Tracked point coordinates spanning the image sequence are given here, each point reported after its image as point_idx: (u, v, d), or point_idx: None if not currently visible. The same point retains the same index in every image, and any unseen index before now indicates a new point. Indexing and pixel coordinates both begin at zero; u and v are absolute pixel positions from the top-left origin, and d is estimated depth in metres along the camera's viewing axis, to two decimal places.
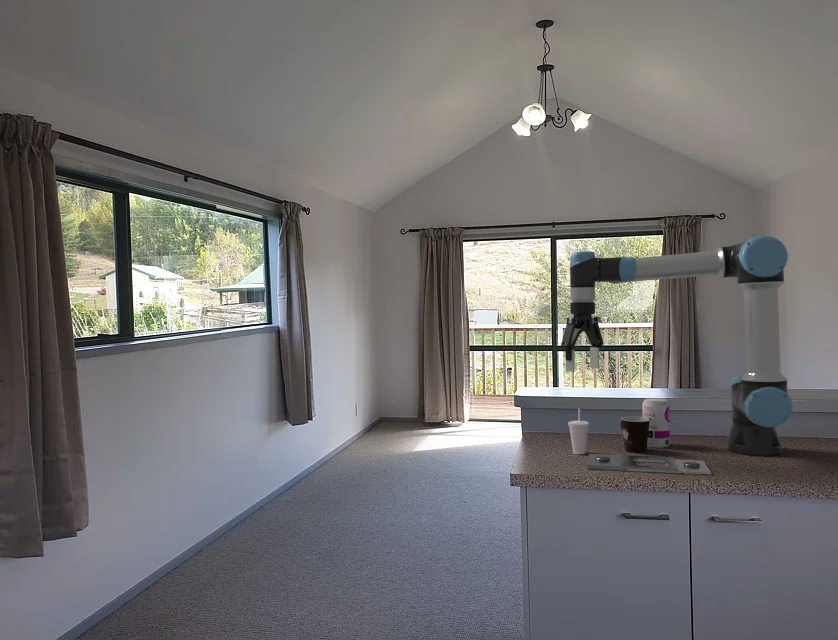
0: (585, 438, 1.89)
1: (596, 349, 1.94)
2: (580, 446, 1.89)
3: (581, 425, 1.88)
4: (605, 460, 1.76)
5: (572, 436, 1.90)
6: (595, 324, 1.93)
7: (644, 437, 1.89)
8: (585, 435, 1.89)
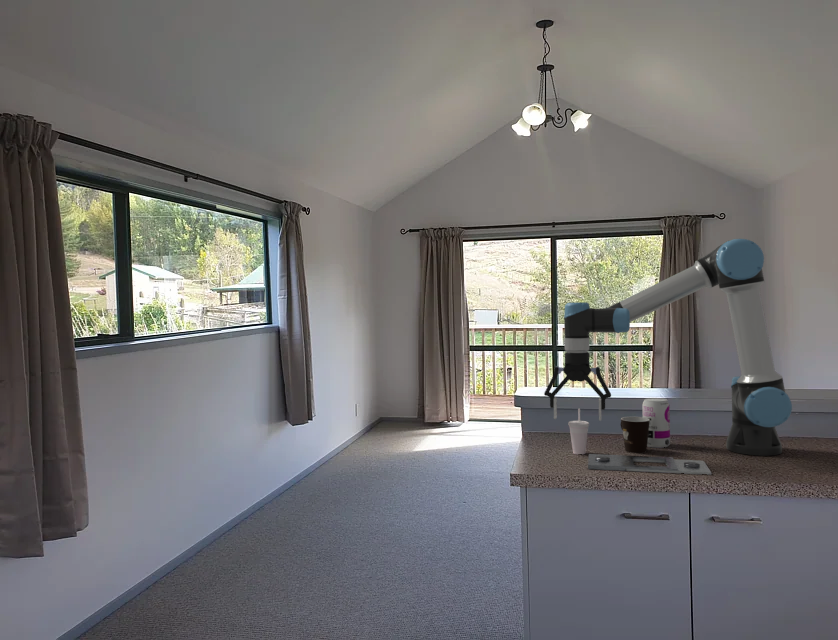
0: (585, 438, 1.89)
1: None
2: (580, 446, 1.89)
3: (581, 425, 1.88)
4: (605, 460, 1.76)
5: (572, 436, 1.90)
6: None
7: (644, 437, 1.89)
8: (585, 435, 1.89)
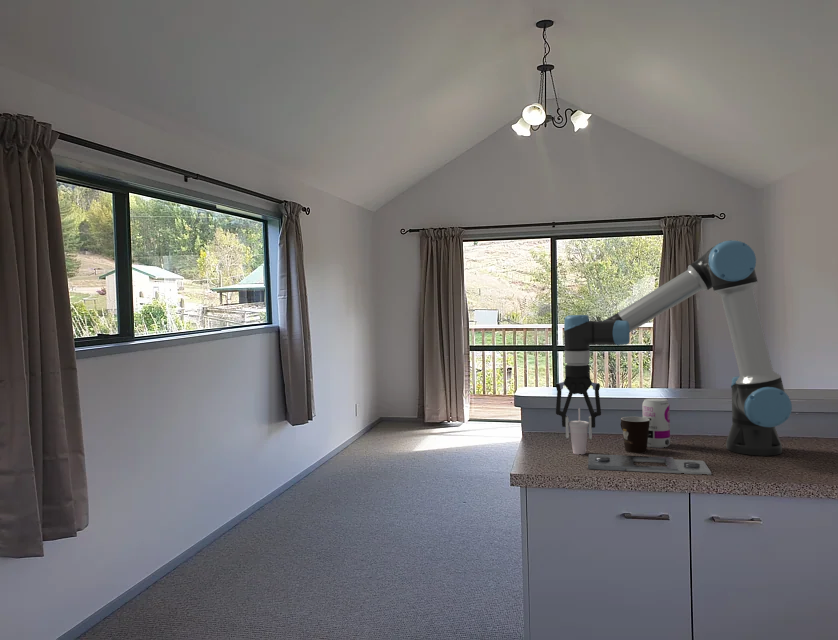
0: (585, 438, 1.89)
1: None
2: (580, 446, 1.89)
3: (581, 425, 1.88)
4: (605, 460, 1.76)
5: (572, 436, 1.90)
6: (595, 391, 1.89)
7: (644, 437, 1.89)
8: (585, 435, 1.89)
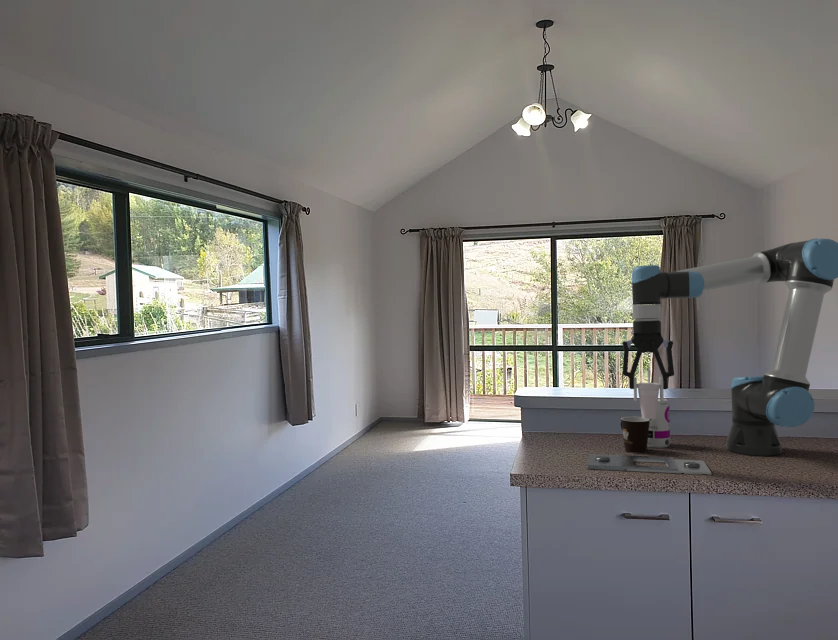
0: (656, 401, 1.72)
1: (660, 380, 1.72)
2: (651, 410, 1.72)
3: (652, 386, 1.71)
4: (605, 460, 1.76)
5: (641, 399, 1.73)
6: (667, 348, 1.71)
7: (644, 437, 1.89)
8: (656, 397, 1.72)
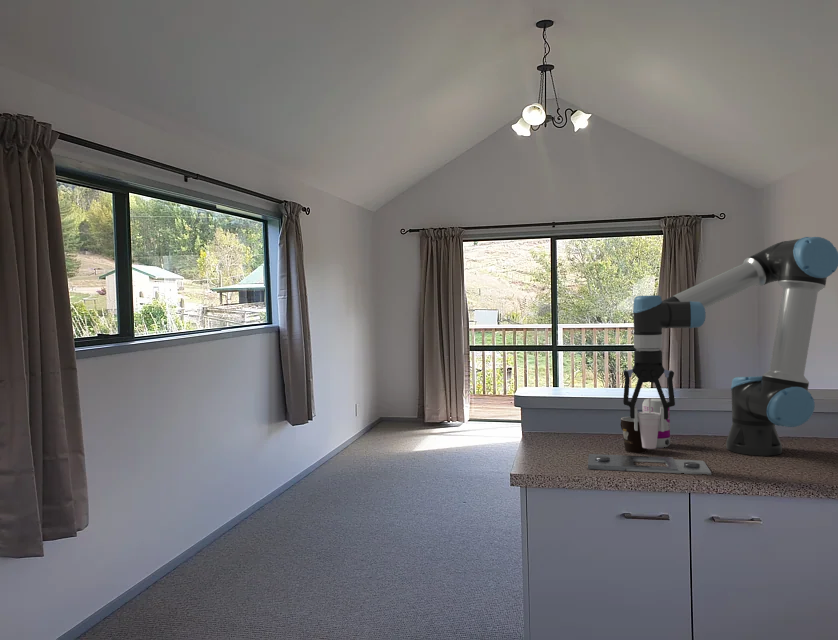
0: (657, 431, 1.72)
1: (660, 410, 1.72)
2: (652, 440, 1.72)
3: (653, 416, 1.71)
4: (605, 460, 1.76)
5: (642, 428, 1.73)
6: (668, 379, 1.71)
7: None
8: (657, 427, 1.72)
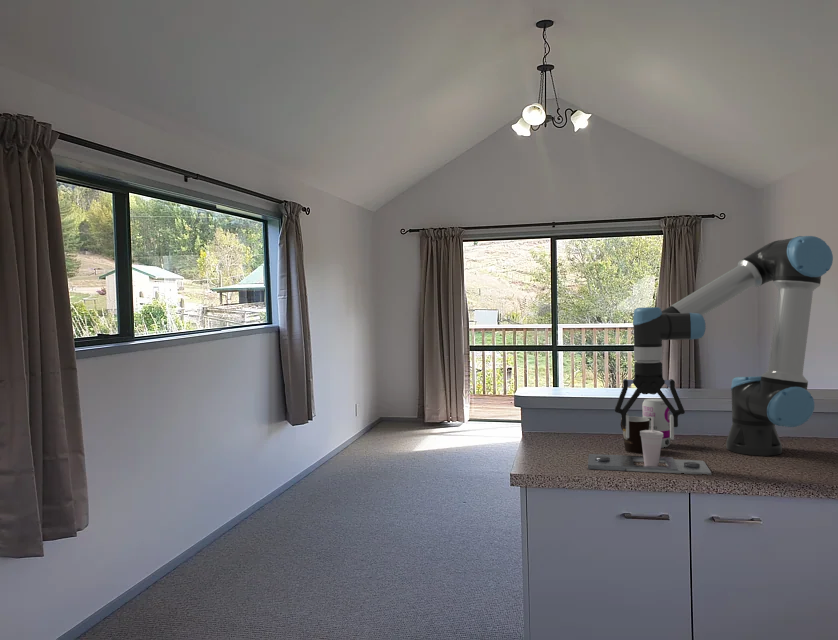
0: (659, 450, 1.72)
1: (670, 418, 1.71)
2: (654, 459, 1.72)
3: (656, 436, 1.71)
4: (605, 460, 1.76)
5: (644, 447, 1.73)
6: (670, 388, 1.71)
7: None
8: (659, 447, 1.72)
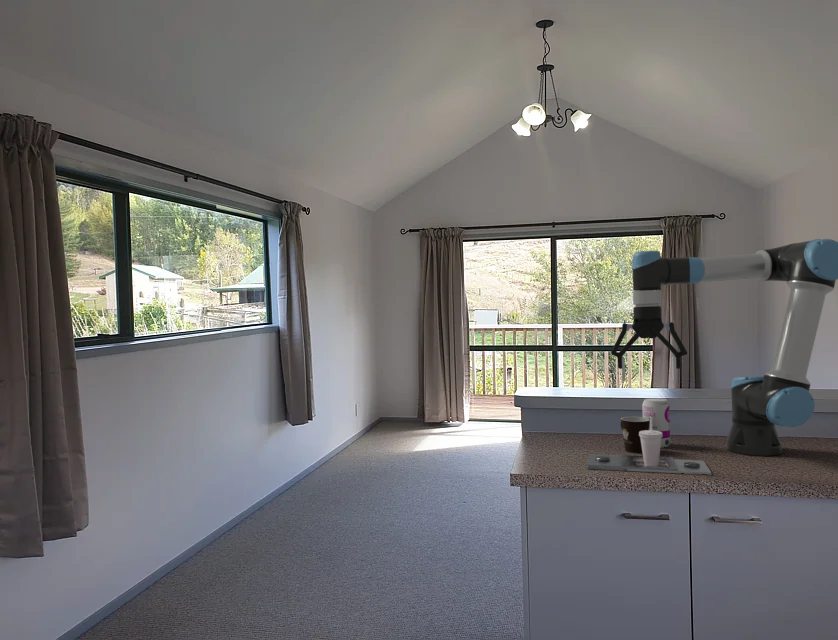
0: (659, 450, 1.72)
1: (673, 359, 1.71)
2: (654, 459, 1.72)
3: (655, 435, 1.71)
4: (605, 460, 1.76)
5: (644, 447, 1.73)
6: (670, 331, 1.71)
7: None
8: (659, 446, 1.72)
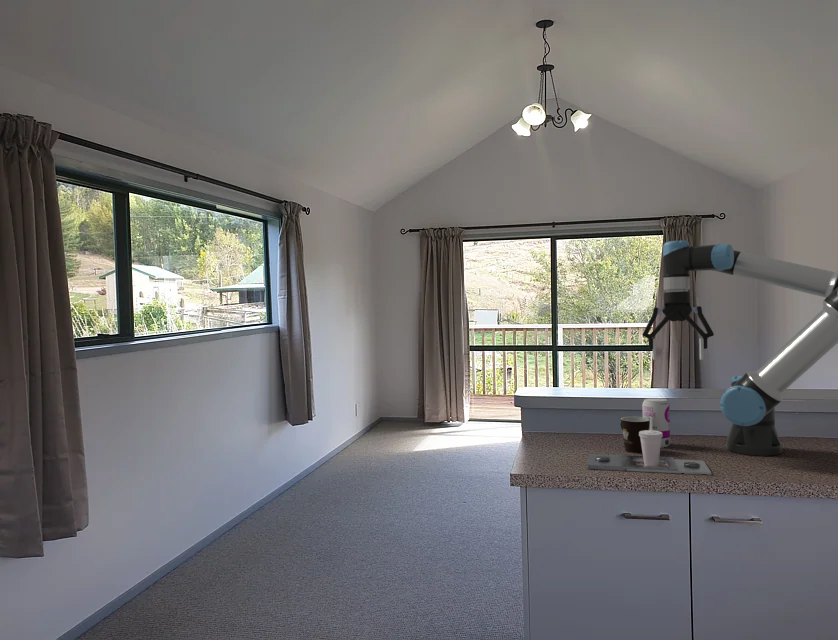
0: (659, 450, 1.72)
1: (700, 340, 1.86)
2: (654, 459, 1.72)
3: (655, 435, 1.71)
4: (605, 460, 1.76)
5: (644, 447, 1.73)
6: (698, 314, 1.86)
7: None
8: (659, 446, 1.72)
